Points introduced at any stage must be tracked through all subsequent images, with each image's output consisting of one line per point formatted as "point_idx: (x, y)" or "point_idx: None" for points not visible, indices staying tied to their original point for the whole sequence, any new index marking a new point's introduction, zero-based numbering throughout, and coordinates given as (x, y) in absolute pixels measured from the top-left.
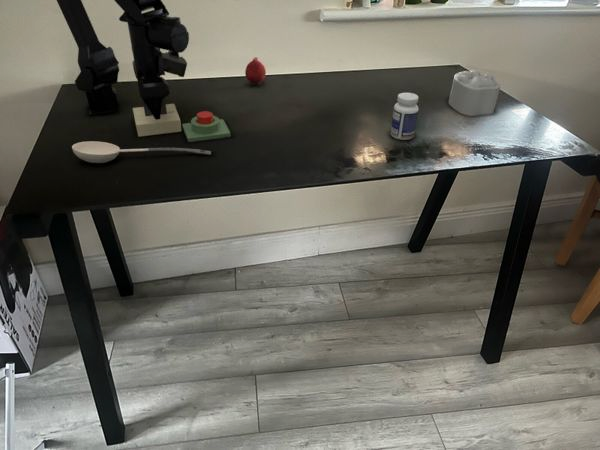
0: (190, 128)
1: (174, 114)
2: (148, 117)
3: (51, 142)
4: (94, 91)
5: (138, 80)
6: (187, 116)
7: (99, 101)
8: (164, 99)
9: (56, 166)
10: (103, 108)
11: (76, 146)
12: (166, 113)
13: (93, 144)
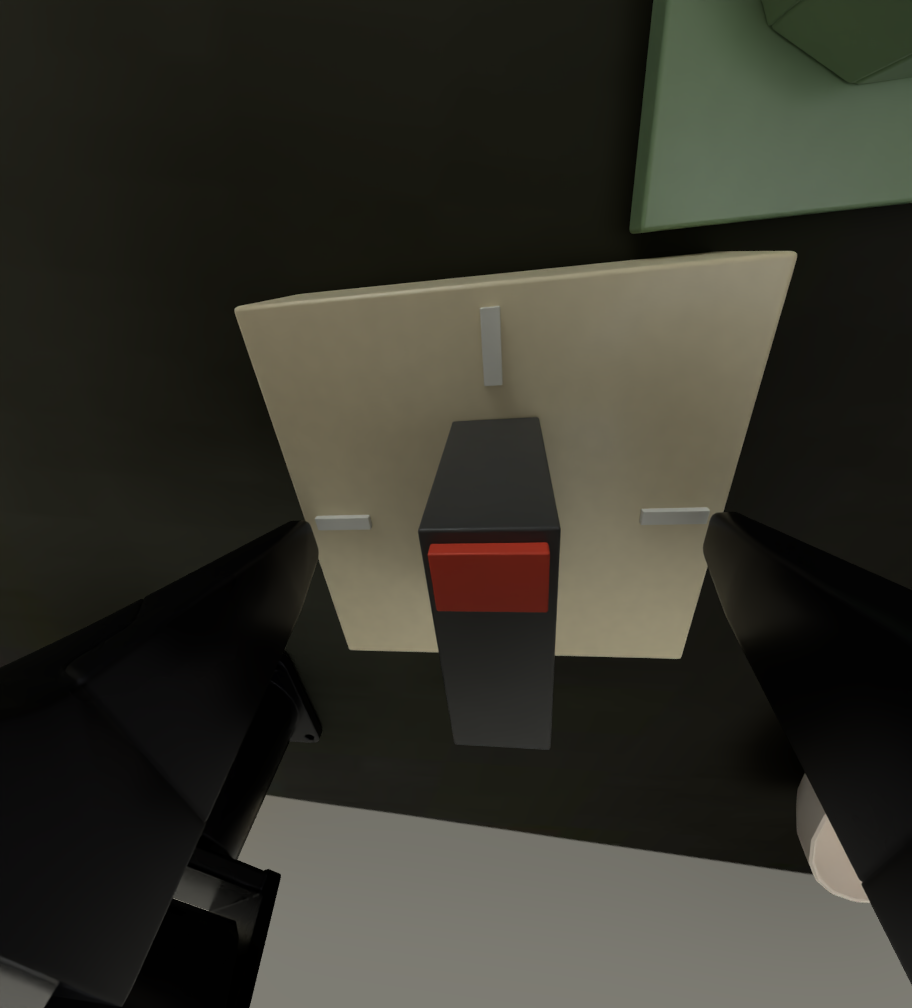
0: (841, 108)
1: (582, 325)
2: (565, 577)
3: (553, 821)
4: (259, 872)
5: (164, 899)
6: (340, 146)
7: (267, 772)
8: (556, 517)
9: (776, 827)
10: (284, 720)
11: (825, 872)
12: (538, 422)
13: (811, 816)
